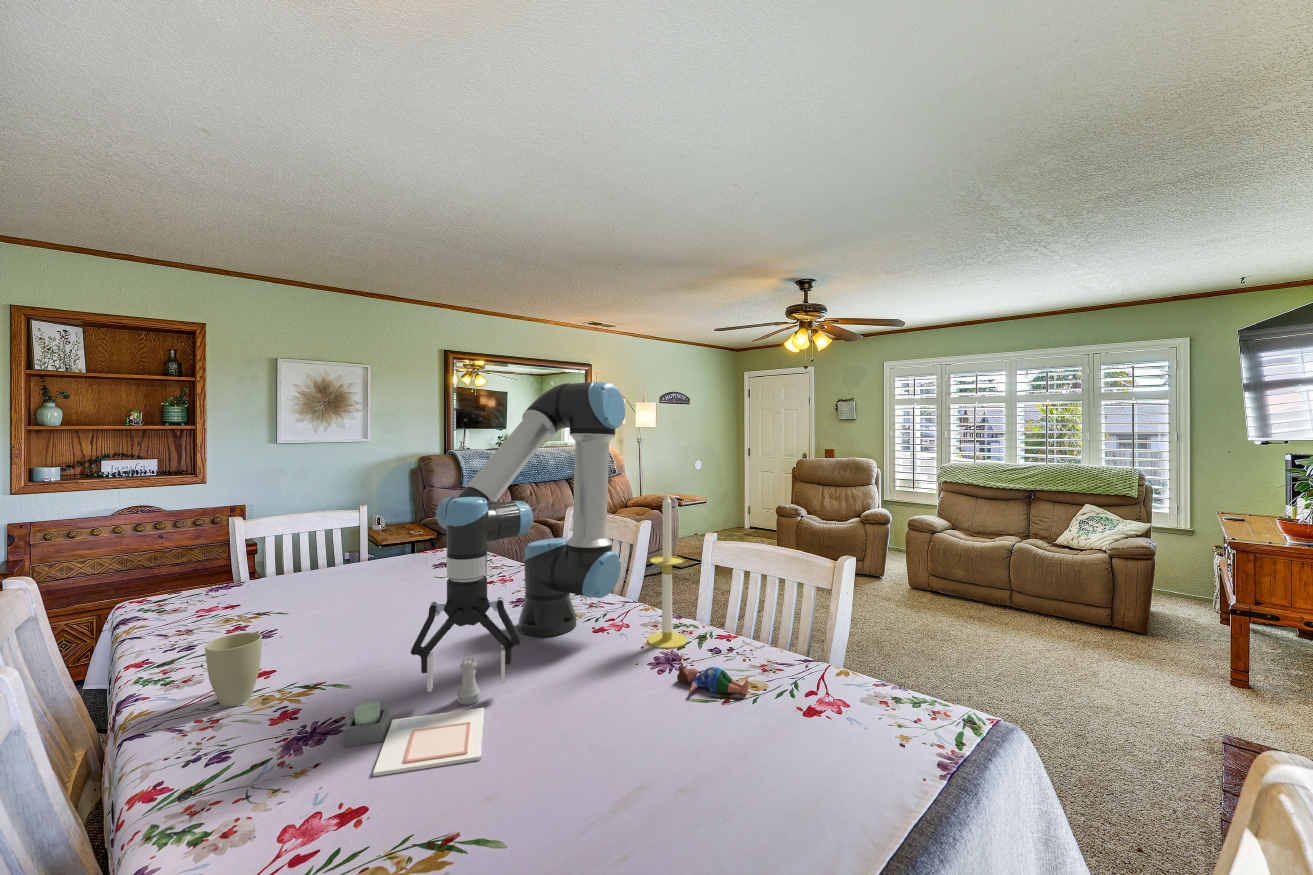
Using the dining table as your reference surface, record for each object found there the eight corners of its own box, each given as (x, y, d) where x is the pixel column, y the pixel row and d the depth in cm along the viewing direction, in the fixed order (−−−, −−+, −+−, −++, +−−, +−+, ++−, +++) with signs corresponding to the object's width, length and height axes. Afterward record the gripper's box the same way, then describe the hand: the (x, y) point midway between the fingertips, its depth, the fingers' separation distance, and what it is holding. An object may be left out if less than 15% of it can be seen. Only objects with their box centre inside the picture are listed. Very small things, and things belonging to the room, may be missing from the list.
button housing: (389, 723, 103) (389, 706, 103) (382, 741, 97) (382, 724, 97) (353, 727, 101) (353, 711, 101) (344, 746, 96) (343, 729, 95)
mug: (278, 691, 115) (277, 633, 114) (227, 715, 106) (226, 652, 105) (241, 683, 118) (239, 627, 118) (188, 706, 109) (186, 645, 109)
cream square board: (484, 710, 107) (484, 705, 107) (480, 759, 92) (480, 754, 92) (392, 722, 103) (392, 717, 103) (373, 776, 88) (373, 770, 88)
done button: (382, 718, 102) (382, 699, 101) (377, 730, 98) (377, 710, 98) (357, 721, 101) (357, 702, 100) (352, 733, 97) (351, 713, 97)
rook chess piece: (460, 695, 113) (459, 655, 113) (483, 694, 114) (482, 654, 113) (454, 706, 109) (453, 665, 109) (478, 705, 109) (477, 664, 109)
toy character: (738, 687, 107) (665, 673, 113) (738, 712, 107) (665, 696, 113) (754, 661, 119) (688, 649, 125) (754, 683, 119) (687, 670, 125)
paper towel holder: (695, 640, 141) (695, 490, 140) (668, 652, 134) (668, 495, 132) (665, 629, 148) (665, 487, 146) (638, 641, 140) (638, 491, 139)
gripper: (531, 568, 117) (531, 669, 118) (401, 575, 111) (401, 682, 111) (533, 577, 110) (533, 685, 110) (394, 586, 103) (394, 700, 104)
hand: (467, 684), depth 111 cm, fingers open, 13 cm apart
